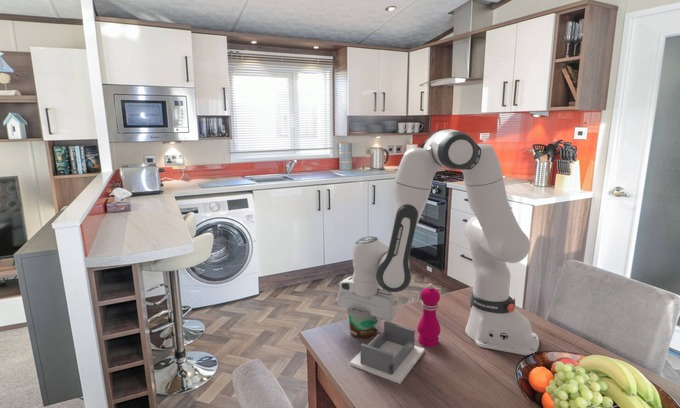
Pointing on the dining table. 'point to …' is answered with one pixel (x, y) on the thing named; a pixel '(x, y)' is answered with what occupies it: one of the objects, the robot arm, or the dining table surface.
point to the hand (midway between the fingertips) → (365, 324)
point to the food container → (361, 323)
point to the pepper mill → (429, 317)
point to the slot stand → (389, 353)
